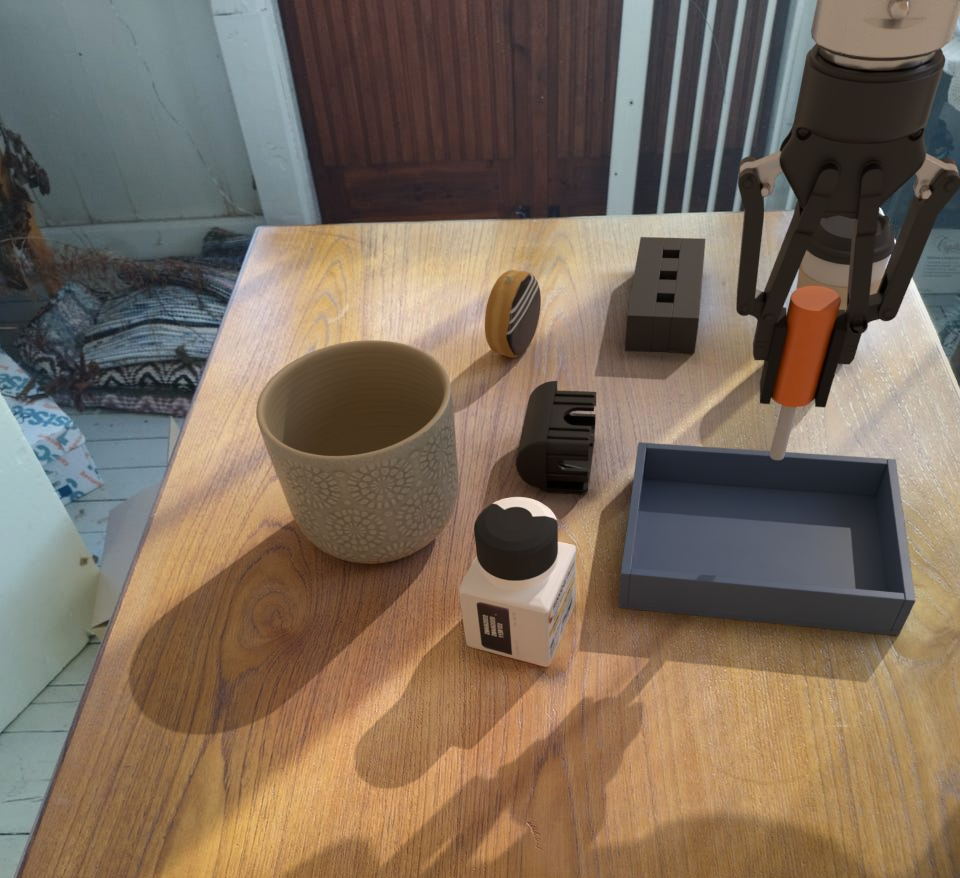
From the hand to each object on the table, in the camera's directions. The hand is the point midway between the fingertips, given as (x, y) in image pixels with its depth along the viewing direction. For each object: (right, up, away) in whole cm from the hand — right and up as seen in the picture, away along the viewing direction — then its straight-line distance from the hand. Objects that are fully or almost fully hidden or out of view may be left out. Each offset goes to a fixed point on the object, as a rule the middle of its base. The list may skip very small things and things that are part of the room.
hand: (792, 394), depth 67 cm
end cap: (-16, -1, +23) cm, 28 cm away
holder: (-1, +22, +39) cm, 45 cm away
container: (-20, -18, +10) cm, 29 cm away
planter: (-34, -8, +19) cm, 40 cm away
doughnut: (-20, +15, +37) cm, 45 cm away
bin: (+1, -11, +13) cm, 17 cm away
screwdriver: (0, -4, +5) cm, 6 cm away
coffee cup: (+15, +14, +32) cm, 38 cm away
